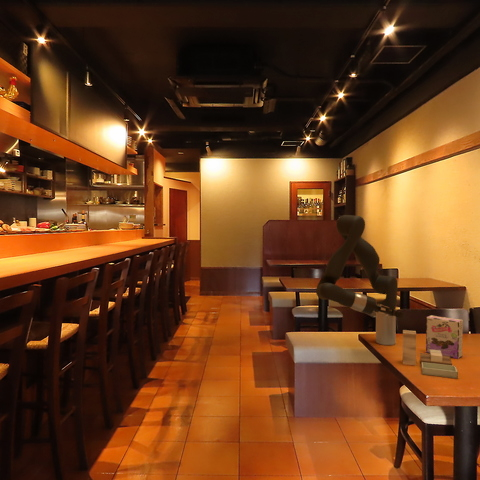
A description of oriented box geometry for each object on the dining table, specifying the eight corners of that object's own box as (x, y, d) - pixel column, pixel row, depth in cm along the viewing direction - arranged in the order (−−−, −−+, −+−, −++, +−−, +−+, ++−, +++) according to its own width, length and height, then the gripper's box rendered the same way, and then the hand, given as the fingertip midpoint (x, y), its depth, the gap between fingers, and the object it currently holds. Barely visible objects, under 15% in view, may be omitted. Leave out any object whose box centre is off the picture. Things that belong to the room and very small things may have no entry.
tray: (421, 368, 160) (421, 362, 160) (455, 372, 155) (455, 365, 155) (422, 374, 153) (422, 367, 153) (457, 378, 148) (457, 372, 148)
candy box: (425, 352, 182) (425, 316, 181) (430, 350, 186) (430, 314, 185) (458, 359, 172) (458, 321, 171) (462, 356, 176) (463, 319, 176)
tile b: (430, 358, 163) (430, 352, 163) (441, 359, 162) (441, 353, 162) (431, 361, 159) (431, 355, 159) (442, 362, 158) (442, 356, 158)
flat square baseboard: (420, 360, 170) (420, 353, 170) (449, 363, 166) (449, 356, 166) (421, 367, 160) (421, 360, 160) (452, 371, 156) (452, 364, 156)
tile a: (429, 355, 167) (429, 349, 167) (440, 356, 166) (440, 350, 166) (430, 358, 164) (430, 351, 164) (441, 359, 162) (441, 353, 162)
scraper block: (402, 360, 170) (403, 330, 170) (415, 361, 168) (415, 331, 168) (402, 363, 165) (402, 332, 165) (415, 365, 163) (416, 333, 163)
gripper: (370, 295, 164) (407, 307, 164) (358, 294, 178) (392, 305, 179) (365, 312, 163) (402, 325, 164) (354, 310, 178) (388, 321, 178)
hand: (397, 314), depth 171 cm, fingers open, 8 cm apart
